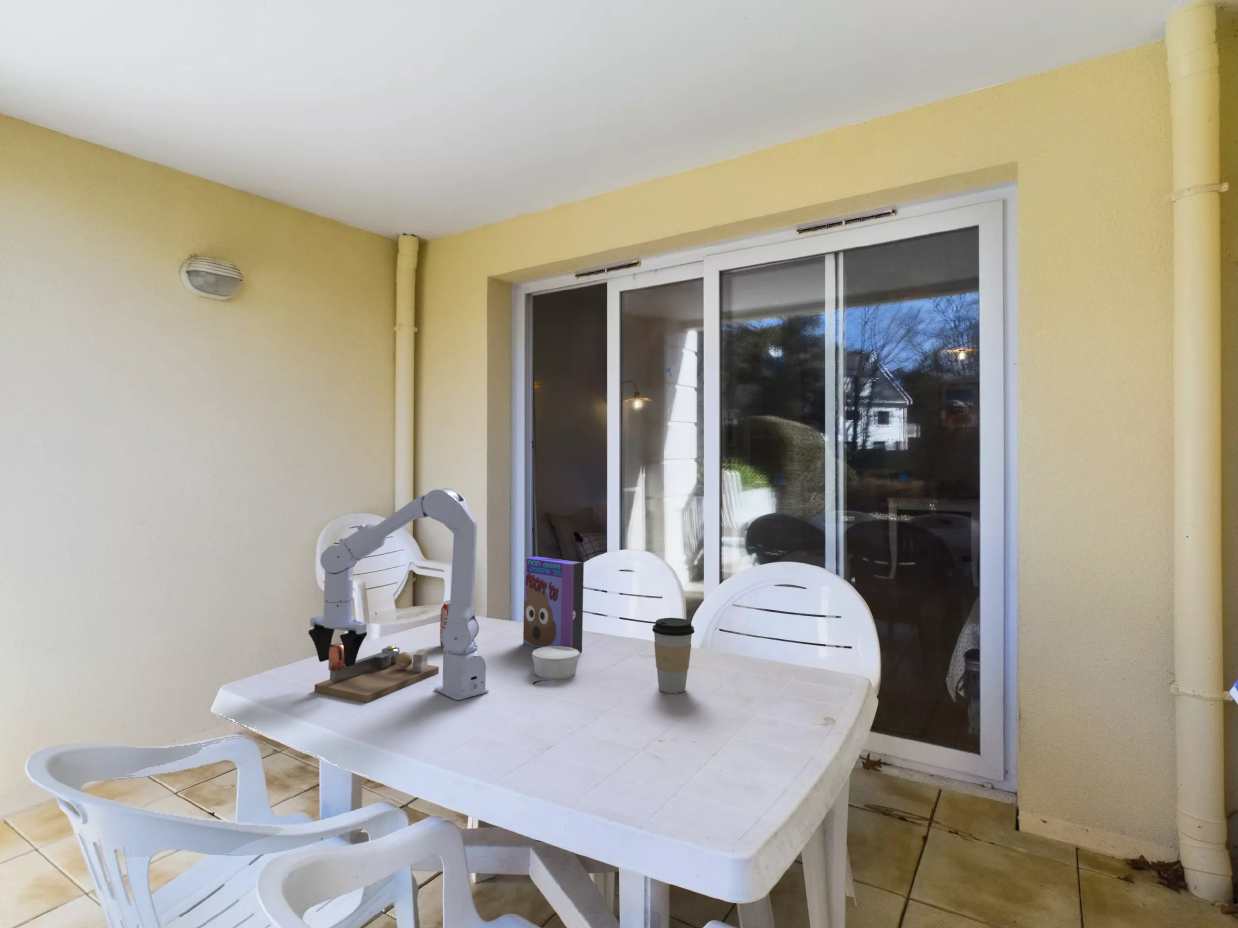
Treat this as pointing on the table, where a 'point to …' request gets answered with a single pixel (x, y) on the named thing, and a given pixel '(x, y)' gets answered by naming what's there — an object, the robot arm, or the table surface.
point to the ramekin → (555, 662)
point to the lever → (358, 662)
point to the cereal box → (553, 603)
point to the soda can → (444, 617)
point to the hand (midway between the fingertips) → (336, 662)
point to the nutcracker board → (379, 680)
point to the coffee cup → (672, 652)
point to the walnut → (404, 660)
